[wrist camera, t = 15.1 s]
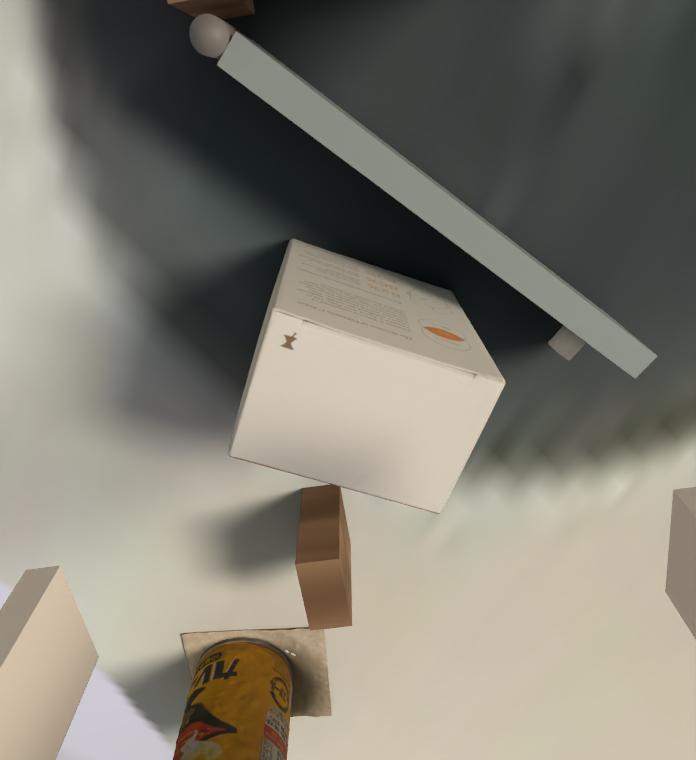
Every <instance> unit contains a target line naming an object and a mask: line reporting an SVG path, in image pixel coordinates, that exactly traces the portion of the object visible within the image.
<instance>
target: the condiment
mask: <svg viewBox="0 0 696 760" xmlns="http://www.w3.org/2000/svg"><path fill="white" fill-rule="evenodd" d="M181 636H182V639H183V644H184V649H185V653H186V657H187V661H188V665H189V670H190V674H191V680H192V685H191V688H190V689H191V690H190V693H189V696H188V698H187V703H186V708H185V711H184V716H183V720H182V725H181V727H180V731H179V736H178V739H177V741H176V749H175V752H174V757H173V760H287V748H288V736H289V724H290V717H293V716H314V717H318V716H331V703H330V692H329V681H328V670H327V659H326V649H325V639H324V629H320V630H312V631H310V629H303V628H299V629H293V630H272V631H270V630H263V631H261V630H240V631H223V632H207V633H202V632H199V633H188V634H184V635H181ZM285 650H288V651H289V652H290V653H294V654H296V656H293V655H291V654H290V653H286V652H285Z"/></svg>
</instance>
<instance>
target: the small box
mask: <svg viewBox="0 0 696 760" xmlns="http://www.w3.org/2000/svg"><path fill="white" fill-rule="evenodd" d="M504 385H505V380H504V378H503V377H502V375H501V373H500V372H499V370H498V368H497V367H496V365H495V363H494V361H493V360H492V358H491V356H490V355H489V353H488V351H487V350H486V348H485V346H484V344H483V343H482V341H481V339H480V338H479V336H478V334H477V333H476V331H475V330H474V328H473V326H472V324H471V323H470V321H469V319H468V318H467V316H466V315H465V313H464V311H463V309H462V308H461V306H460V305H459V303H458V301H457V299H456V298H455V296H454V294H453V292H452V291H450V290H447V289H443V288H440V287H437V286H434V285H431V284H428V283H425V282H422V281H419V280H416V279H413V278H410V277H407V276H404V275H401V274H398V273H395V272H392V271H389V270H386V269H383V268H380V267H376V266H373V265H370V264H368V263H365V262H362V261H359V260H356V259H353V258H350V257H347V256H344V255H340V254H337V253H334V252H331V251H328V250H325V249H322V248H319V247H316V246H313V245H310V244H307V243H304V242H302V241H299V240H296V239H291V240H290V241H289V244H288V247H287V250H286V253H285V256H284V259H283V262H282V265H281V268H280V271H279V274H278V277H277V280H276V283H275V286H274V289H273V292H272V295H271V298H270V302H269V305H268V308H267V312H266V315H265V318H264V321H263V325H262V328H261V332H260V335H259V338H258V342H257V345H256V349H255V352H254V356H253V360H252V363H251V367H250V370H249V374H248V378H247V381H246V385H245V388H244V392H243V395H242V399H241V403H240V407H239V410H238V414H237V418H236V422H235V426H234V429H233V433H232V437H231V441H230V445H229V456H230V457H233V458H237V459H241V460H245V461H248V462H252V463H255V464H259V465H263V466H266V467H270V468H273V469H277V470H281V471H284V472H288V473H292V474H296V475H299V476H303V477H307V478H311V479H314V480H318V481H322V482H325V483H329V484H332V485H336V486H339V487H343V488H347V489H350V490H354V491H358V492H362V493H365V494H369V495H372V496H376V497H380V498H383V499H387V500H390V501H394V502H398V503H401V504H405V505H408V506H412V507H415V508H419V509H423V510H426V511H430V512H433V513H436V514H440V513H441V512H442V511H443V508H444V506H445V504H446V502H447V500H448V498H449V496H450V494H451V492H452V490H453V488H454V486H455V484H456V482H457V480H458V478H459V476H460V474H461V472H462V470H463V468H464V466H465V464H466V462H467V460H468V458H469V456H470V454H471V452H472V450H473V448H474V446H475V444H476V442H477V440H478V438H479V436H480V434H481V432H482V430H483V428H484V426H485V424H486V422H487V420H488V418H489V416H490V414H491V412H492V410H493V408H494V406H495V404H496V402H497V399H498V397H499V395H500V393H501V391H502V390H503V388H504Z"/></svg>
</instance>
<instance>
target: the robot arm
mask: <svg viewBox="0 0 696 760" xmlns="http://www.w3.org/2000/svg"><path fill="white" fill-rule="evenodd" d="M665 592H666V593H667V595H668V596H669V598H670V599H671V601H672V603H673V604H674V606H675V607H676V609H677V611H678V612H679V614H680V615H681V617H682V618H683V620H684V622H685V623H686V625H687V626H688V628H689V629H690V631H691V633H692V634H693V636H694V637H695V639H696V487H693V488H685V489H676V490H673V501H672V514H671V527H670V539H669V552H668V565H667V578H666V590H665ZM98 658H99V656H98V654H97V652H96V649H95V647H94V644H93V642H92V640H91V637H90V635H89V633H88V630H87V628H86V626H85V623H84V621H83V619H82V616H81V614H80V612H79V609H78V607H77V605H76V602H75V600H74V597H73V595H72V593H71V590H70V588H69V586H68V583H67V581H66V579H65V576H64V574H63V572H62V569H61V567H60V566H54V567H46V568H38V569H30V570H26V571H25V573H24V574H23V576H22V577H21V579H20V580H19V582H18V583H17V585H16V586H15V588H14V590H13V591H12V593H11V594H10V596H9V597H8V599H7V600H6V602H5V603H4V605H3V607H2V608H1V610H0V760H55V759H56V757H57V754H58V752H59V750H60V747H61V745H62V743H63V740H64V738H65V736H66V733H67V731H68V728H69V726H70V724H71V721H72V719H73V717H74V714H75V712H76V709H77V707H78V705H79V703H80V700H81V698H82V695H83V693H84V690H85V688H86V686H87V684H88V681H89V679H90V676H91V674H92V672H93V669H94V667H95V665H96V662H97V660H98Z"/></svg>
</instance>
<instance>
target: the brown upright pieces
mask: <svg viewBox="0 0 696 760" xmlns="http://www.w3.org/2000/svg"><path fill="white" fill-rule="evenodd" d="M167 2H168V4H169V5H171V6H173V7H175V8H177V9H179V10H181V11H183V12H185V13H187V14H189V15H191V16H193V17H195V18H196V17H198V16H199V15H202V14H212V15H214V16H216V17H218V18H220V19H221V20H223V19H229V18H235V17H241V16H247V15H253V14H255V10H254V4H253V0H167ZM295 566H296V570H297V575H298V579H299V583H300V588H301V592H302V597H303V601H304V605H305V610H306V614H307V619H308V623H309V628H310V631H312V630H320V629H329V628H337V627H346V626H352V595H351V545H350V538H349V533H348V527H347V522H346V516H345V511H344V505H343V500H342V494H341V488H340V487H339V486H336V485H326V486H319V487H311V488H303V489H302V499H301V509H300V519H299V530H298V540H297V550H296V560H295Z"/></svg>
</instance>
